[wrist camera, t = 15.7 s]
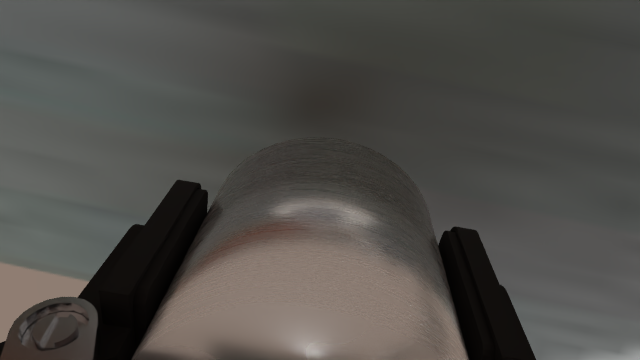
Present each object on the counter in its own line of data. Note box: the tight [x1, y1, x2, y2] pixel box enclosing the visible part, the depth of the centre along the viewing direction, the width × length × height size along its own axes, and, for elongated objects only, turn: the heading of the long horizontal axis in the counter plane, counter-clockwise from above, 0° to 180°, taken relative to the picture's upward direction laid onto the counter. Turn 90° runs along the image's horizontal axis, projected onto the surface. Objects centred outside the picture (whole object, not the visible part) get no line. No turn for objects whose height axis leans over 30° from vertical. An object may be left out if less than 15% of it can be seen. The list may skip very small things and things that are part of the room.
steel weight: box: [131, 138, 469, 360], centre depth 10 cm, size 6×6×6 cm
